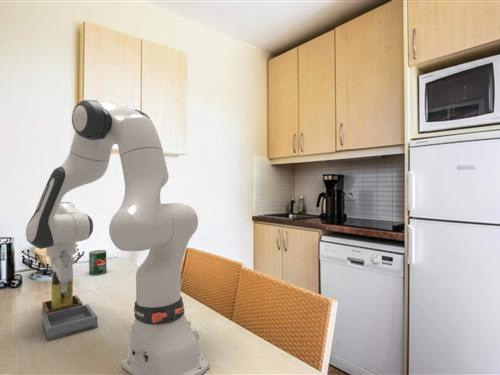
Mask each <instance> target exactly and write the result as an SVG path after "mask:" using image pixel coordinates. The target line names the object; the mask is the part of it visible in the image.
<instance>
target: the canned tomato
mask: <svg viewBox="0 0 500 375" xmlns="http://www.w3.org/2000/svg"><path fill="white" fill-rule="evenodd" d="M88 267H89V268H88V273H89V276H92V277H93V276H102V275H106V274H107V250H106V249H95V250H91V251H89V252H88Z"/></svg>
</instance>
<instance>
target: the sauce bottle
mask: <svg viewBox="0 0 500 375" xmlns="http://www.w3.org/2000/svg"><path fill="white" fill-rule="evenodd" d="M73 280H74V279H72V281H68V285H67V292H63V293H62V292H61V291H60V287H61V283H60V281H59V279H58V278H57V276H56V271H55V273H54V272H53V275H52V277H51V300H52V307H51V310H52V309H57V308H61V307H66V306H70V305H73V296H74V294H73V293H74V292H73V291H74V289H73V286H74V284H73Z"/></svg>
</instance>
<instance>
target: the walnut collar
mask: <svg viewBox="0 0 500 375" xmlns="http://www.w3.org/2000/svg"><path fill="white" fill-rule="evenodd" d="M41 304H42V306H41V307H42V312H41V313H42V314H46V313H51V312H55V311H60V310H64V309H68V308H73V307H77V306H81V305H84V303H83V301H81V299H80V298H79V297H78V295H73V305H70V306H66V307H61V308H57V309H52V310H51V307H52V299H50V300H47V301H43V302H41Z"/></svg>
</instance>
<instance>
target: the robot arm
mask: <svg viewBox="0 0 500 375" xmlns="http://www.w3.org/2000/svg"><path fill="white" fill-rule="evenodd" d="M71 124H72V127H73V129H74V131H75V134H74V136H73V139H72V143H71V145H70V151H69V153H68V156H67V157H66V159H65V160H64V162H63V163H62V164H61V165H60V166H58V167H56V168H54V169H53V171H52V173H51V174H50V176H49V178H48V180H47V183H46V185H45V187H44V189H43V192H42V194H41V197H40V199H39V202H38V204H37V207H36V209H35V210H34V213H33V215H32V216H31V218H30V220H29V222H28V223H27V224H26V229H25V236H26V237H25V238H26V241H27V242H28V243H29V244H30V245H31V246H34V247H35V248H37V249H40V250H43V249H45V252H46V254H45V255H46V256H47V257H49V259H50V267H51V271H52V272H53V274H54V273H55V271H56V276H57V278H58V279H59V281H60V283H61V287H60V291H61V292H62V293H63V292H67V285H68V281H72V279H73V278H74V270H73V268H74V267H73V255H74V254H76V253H77V242H78V243H79V242H83V241H86V240H88V239H89V238H90V237H91V236H92V234H93V231H94V221H93V219H92V218H91V216H89V215H88V213H85V212H84V213H83V212H81V211H80V210H78V209H77V208H76V207H75V205H74V203H73V202H70V201H69V202H68V201H64V202H63V201H62V199H63V197H64V196H65V195H66V194H68V192H71V191H72V190H74V189H76V188H79V187H82V186H85V185H89V184H91V183H94V182H97V181H98V180H99V179H102V177H103V176H104V175H105V173H106V172H107V170H108V167H109V163H110V158H111V154H112V150H113V147H114V145H117V148H118V153H119V159H120V164H121V168H122V174H123V180H124V196H123V199H122V203H121V205H120V207H119V208H118V210H117V211H116V212H115V213H114V214H113V216H112V218H111V220H110V223H109V226H108V233H109V237H110V240H111V242H112V243H113V245H114V247H116V249H118V250H120V251H123V252H143V251H144V252H145V251H147V250H149V251H148V254H147V257H146V258H145V259H144V261H143V262H142V263H141V265H139V267H138V269H137V270H136V274H135V289H136V290H135V291H136V292H135V295H136V296H135V297H136V299H135V301H134V307H133V312H134V318H135V319H134V322H133V324H132V325H131V326H130V327H129V330H128V340H127V341H128V342H127V356H126V357H125V358H124V359H123V360H122V361H121V368H122V369H124V370H125V371H127V372H128V373H129V374H130V375H203V374H204V373H205V372H206V371H207V370H208V369H209V368H210V363H209V361H208V359H207V358H206V357H205V355H204V354H203V352H202V351H201V349H200V348H199V342H198V340H199V339H200V334H199V331H198V330H193V328H192V327H191V326H192V323H191V321H190V320H188V319H187V317H186V315H185V307H184V306H185V304H184V301H183V297H182V296H181V283H182V282H181V276H182V265H183V262H184V261H183V259H184V257H185V253H186V249H187V247H188V244H189V241H190V240H191V239H192V236H194V234H195V233H196V232H197V230H198V226H199V219H198V214H197V213H196V210H195V209H194V208H193V207H192V206H189V205H188V204H184V203H179V202H169V203H161V190H162V188H163V187H164V186H166V184H167V183H168V181H169V171H168V168H167V163H166V158H165V155H164V151H163V146H162V143H161V140H160V136H159V133H158V131H157V128H156V127H155V125H154V123H153V121H152V119H151V117H149V115H148V114H147V113H145V112H143V111H141V110H138V109H134V108H133V109H132V108H130V107H128V106H127V107H126V106H124V105H120V104H118V103H111V102H106V101H105V102H104V101H98V100H94V99H86V100H85V99H84V100H80V101H79V102H78V103H77V104H76V105H75V106H74V107H73V111H72V115H71ZM73 280H74V279H73Z"/></svg>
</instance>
